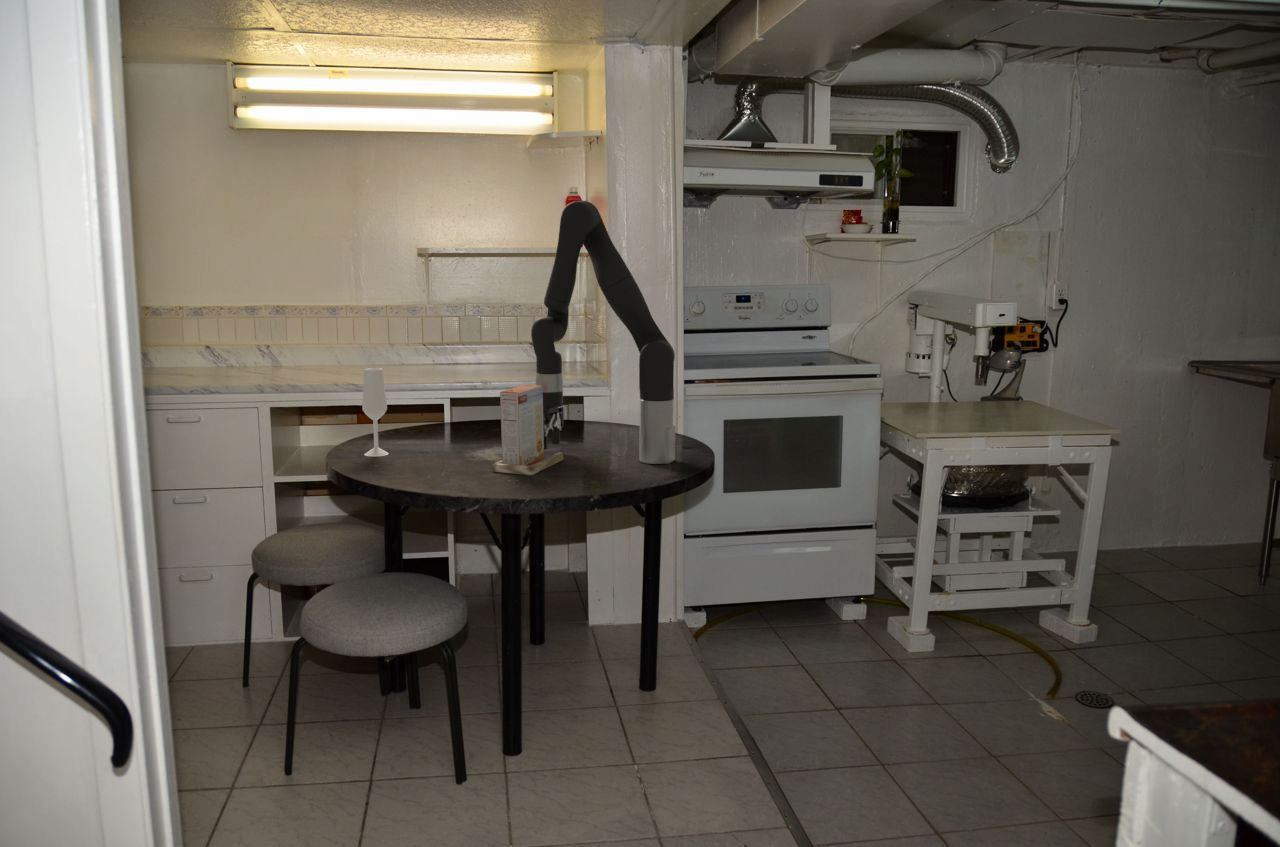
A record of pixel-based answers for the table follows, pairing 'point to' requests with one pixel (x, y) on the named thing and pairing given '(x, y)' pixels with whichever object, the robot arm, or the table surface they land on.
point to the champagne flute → (374, 403)
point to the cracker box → (522, 425)
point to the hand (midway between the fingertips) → (549, 446)
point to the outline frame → (527, 469)
